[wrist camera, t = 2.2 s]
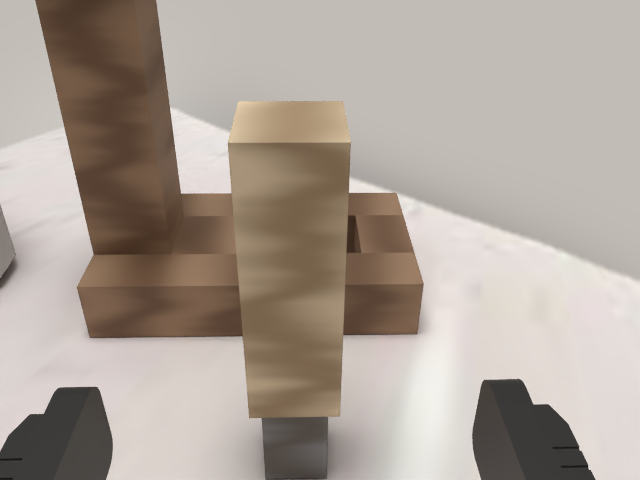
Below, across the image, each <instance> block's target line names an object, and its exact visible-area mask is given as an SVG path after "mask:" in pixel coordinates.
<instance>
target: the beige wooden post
mask: <svg viewBox="0 0 640 480" xmlns="http://www.w3.org/2000/svg"><path fill="white" fill-rule="evenodd" d="M350 147H351V141H350V136H349V131H348V125H347V120H346V115H345V109H344V104H343V102H342V101H341V102H340V101H333V102H332V101H328V102H327V101H325V102H324V101H323V102H322V101H321V102H320V101H317V102H316V101H312V102H311V101H309V102H306V101H297V102H296V101H290V102H288V101H277V102H276V101H274V102H273V101H272V102H271V101H261V102H260V101H259V102H256V101H255V102H253V101H252V102H238V105H237V109H236V113H235V117H234V121H233V124H232V128H231V132H230V136H229V140H228V152H229V165H230V177H231V190H232V203H233V216H234V229H235V241H236V254H237V267H238V280H239V293H240V305H241V318H242V331H243V344H244V356H245V369H246V382H247V395H248V408H249V418H262V429H263V445H264V461H265V477H266V480H267V479H317V478H326V475H327V434H328V417H336V416H340V400H341V375H342V350H343V324H344V299H345V274H346V249H347V223H348V198H349V173H350Z"/></svg>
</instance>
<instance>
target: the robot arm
mask: <svg viewBox="0 0 640 480" xmlns="http://www.w3.org/2000/svg"><path fill="white" fill-rule="evenodd" d="M472 439H473V450H474V456H475V460H476V463H477V467H478V470H479V473H480V477H481V480H595V478H594V476H593V474H592V472H591V470H589V469H588V464H587V462H586V460H585V458H584V455H583V453H582V451H580V450H579V445H578V443H577V441H576V439H575V437H574V435H573V433H572V431H571V429H570V427H569V425H568V423H567V422H566V421H565V420H564V419H563V418H562V417H561V416H560V415H559V414H558V413H557V412H556V411H555V410H554V409H553V408H552V407H551V406H550V405H549V404H542V405H533V403H532V400H531V398H530V396H529V393H528V391H527V389H526V387H525V385H524V383H523V382H522V381H521V380H520V379H505V380H484V381H483V382H482V385H481V390H480V395H479V400H478V405H477V410H476V415H475V420H474V425H473V434H472ZM112 451H113V442H112V435H111V431H110V427H109V423H108V420H107V416H106V412H105V408H104V405H103V401H102V397H101V394H100V391H99V389H98V388H97V387H63V388H58V389H57V390H56V391H55V392H54V394H53V396H52V398H51V400H50V402H49V404H48V406H47V409H46V411H45V413H44V414H30V415H29V416H28V417H27V418H26V419H25V420H24V421H23V422H22V423H21V424H20V425H19V426H18V427H17V428H16V429H15V430H14V431H13V432H12V433H11V434H10V435H9V436H8V438H7V440H6V442H5V444H4V445H3V447H2V449H1V451H0V480H106V478H107V474H108V471H109V468H110V464H111V459H112Z"/></svg>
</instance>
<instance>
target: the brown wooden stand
mask: <svg viewBox="0 0 640 480" xmlns="http://www.w3.org/2000/svg"><path fill="white" fill-rule="evenodd" d="M35 1H36V5H37V9H38V14H39V18H40V22H41V27H42V31H43V36H44V40H45V44H46V49H47V53H48V57H49V62H50V66H51V70H52V75H53V78H54V83H55V87H56V92H57V97H58V101H59V105H60V110H61V114H62V118H63V122H64V127H65V131H66V136H67V140H68V144H69V149H70V153H71V157H72V162H73V166H74V171H75V175H76V179H77V184H78V188H79V192H80V197H81V201H82V205H83V210H84V214H85V218H86V223H87V227H88V231H89V236H90V240H91V245H92V249H93V253H94V256H93V257H92V259H91V261H90V263H89V265H88V267H87V269H86V271H85V273H84V275H83V276H82V278H81V280H80V282H79V284H78V286H77V289H78V293H79V297H80V301H81V305H82V309H83V313H84V317H85V321H86V324H87V328H88V332H89V336H90V337H173V336H243V331H242V318H241V305H240V293H239V280H238V267H237V254H236V241H235V229H234V216H233V203H232V194H181V192H180V184H179V176H178V168H177V160H176V152H175V145H174V137H173V129H172V121H171V113H170V106H169V99H168V90H167V83H166V75H165V66H164V59H163V51H162V43H161V35H160V28H159V20H158V13H157V4H156V0H35ZM422 292H423V281H422V277H421V274H420V270H419V267H418V264H417V260H416V257H415V254H414V250H413V247H412V244H411V240H410V237H409V233H408V230H407V227H406V223H405V220H404V217H403V213H402V210H401V207H400V203H399V200H398V196H397V193H349V198H348V223H347V249H346V274H345V299H344V324H343V335H350V334H417V331H418V323H419V315H420V308H421V300H422Z"/></svg>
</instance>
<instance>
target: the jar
mask: <svg viewBox="0 0 640 480" xmlns="http://www.w3.org/2000/svg"><path fill="white" fill-rule="evenodd" d="M15 255H16V254H15V250H14V247H13V244H12V241H11V238H10V234H9V231H8V228H7V225H6V222H5V218H4V215H3V212H2V209H1V206H0V278H1V277H2V275H3V274H4V273H5V271H6V270H7V268H8V267H9V265H10V263H11V262H12V260H13V258H14V257H15Z"/></svg>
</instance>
